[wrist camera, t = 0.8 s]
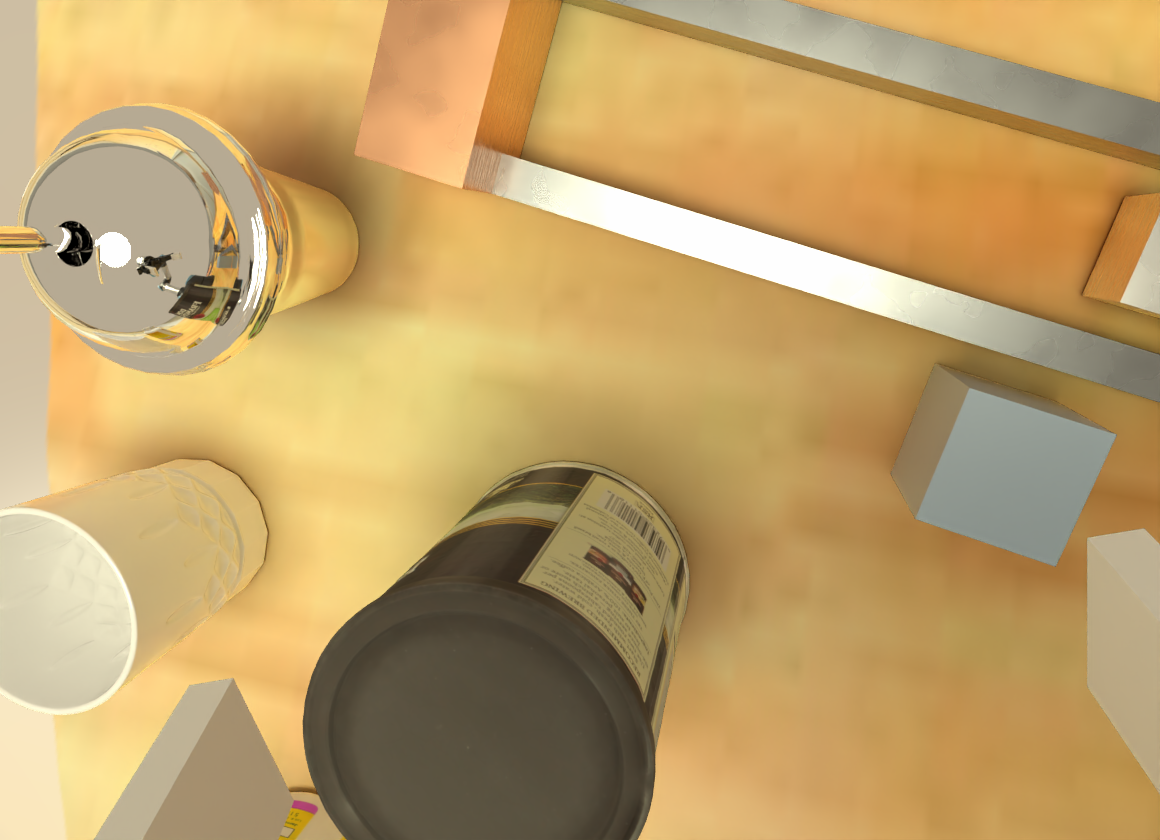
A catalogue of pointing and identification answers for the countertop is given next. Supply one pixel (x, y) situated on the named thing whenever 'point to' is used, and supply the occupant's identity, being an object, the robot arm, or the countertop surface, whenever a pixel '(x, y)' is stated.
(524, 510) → the coffee can
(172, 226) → the cup with straw
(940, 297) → the channel
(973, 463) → the block
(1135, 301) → the silver metal slider block
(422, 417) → the countertop surface
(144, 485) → the white cup
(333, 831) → the supplement bottle
